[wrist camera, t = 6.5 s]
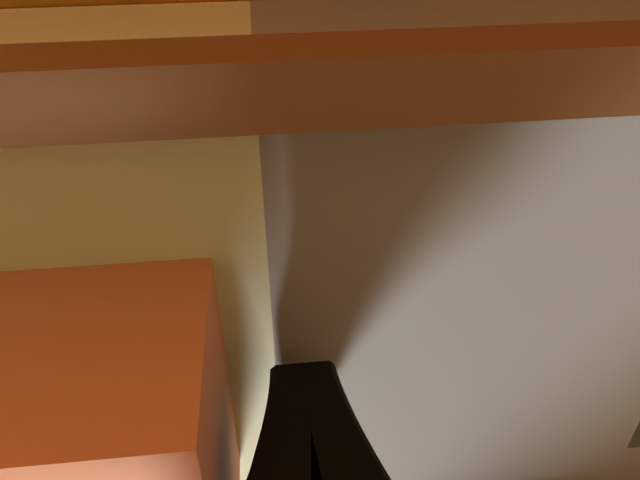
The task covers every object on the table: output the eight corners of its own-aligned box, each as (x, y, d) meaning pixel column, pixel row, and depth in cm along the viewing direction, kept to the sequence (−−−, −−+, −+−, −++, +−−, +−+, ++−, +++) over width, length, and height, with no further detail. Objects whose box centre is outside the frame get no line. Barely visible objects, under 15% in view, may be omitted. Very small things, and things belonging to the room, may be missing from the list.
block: (240, 459, 14) (238, 650, 11) (-1, 482, 14) (-79, 689, 10) (211, 257, 11) (196, 450, 7) (-113, 279, 10) (-284, 495, 7)
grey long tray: (770, 431, 19) (851, 525, 17) (-202, 528, 17) (-282, 655, 14) (1087, -28, 11) (1338, 16, 9) (-683, 31, 9) (-1069, 117, 6)
